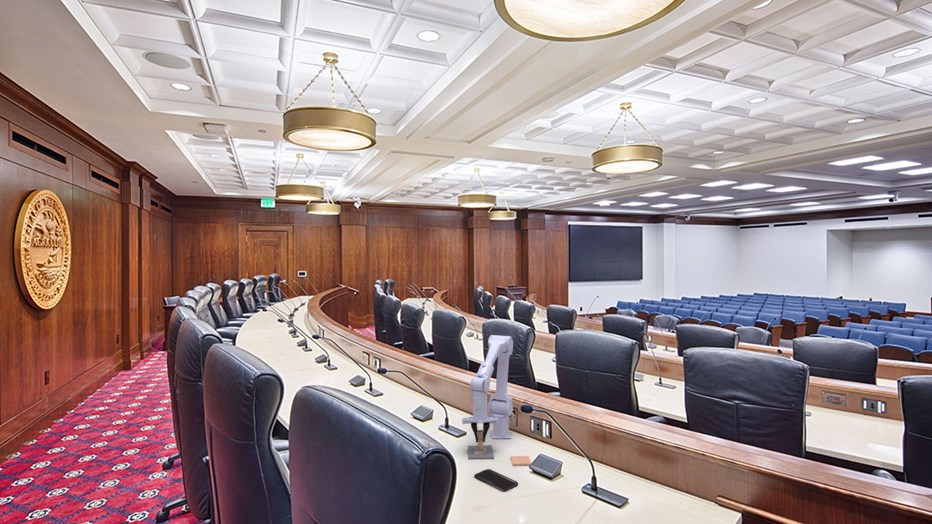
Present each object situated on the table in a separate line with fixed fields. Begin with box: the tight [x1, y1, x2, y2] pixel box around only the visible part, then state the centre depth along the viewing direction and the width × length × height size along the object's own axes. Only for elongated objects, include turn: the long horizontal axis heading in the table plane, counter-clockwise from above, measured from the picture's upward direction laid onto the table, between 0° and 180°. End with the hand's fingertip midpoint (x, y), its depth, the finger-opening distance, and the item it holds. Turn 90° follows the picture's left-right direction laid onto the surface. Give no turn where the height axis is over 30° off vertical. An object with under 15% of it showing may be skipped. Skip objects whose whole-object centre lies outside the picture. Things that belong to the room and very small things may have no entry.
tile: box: [510, 455, 532, 467], centre depth 171 cm, size 1×7×7 cm
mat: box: [467, 444, 495, 460], centre depth 180 cm, size 12×10×1 cm
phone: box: [473, 468, 519, 493], centre depth 156 cm, size 8×1×15 cm
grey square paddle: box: [474, 429, 487, 455], centre depth 179 cm, size 5×5×8 cm
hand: (480, 441), depth 180 cm, fingers closed on grey square paddle, 2 cm apart
